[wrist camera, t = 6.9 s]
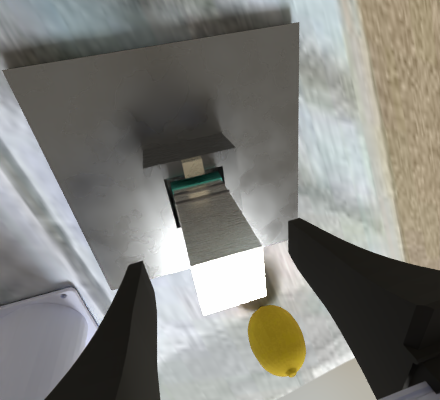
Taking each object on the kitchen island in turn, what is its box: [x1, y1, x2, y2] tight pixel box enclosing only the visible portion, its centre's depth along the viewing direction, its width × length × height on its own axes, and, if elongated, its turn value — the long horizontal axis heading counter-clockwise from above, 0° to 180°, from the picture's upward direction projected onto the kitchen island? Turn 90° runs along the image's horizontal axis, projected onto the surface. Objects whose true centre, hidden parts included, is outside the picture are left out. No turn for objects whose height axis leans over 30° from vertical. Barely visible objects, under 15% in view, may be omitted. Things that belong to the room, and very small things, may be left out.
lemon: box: [248, 305, 306, 377], centre depth 29 cm, size 6×6×8 cm
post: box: [170, 171, 266, 316], centre depth 15 cm, size 3×3×8 cm
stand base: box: [2, 22, 299, 290], centre depth 20 cm, size 18×18×5 cm
